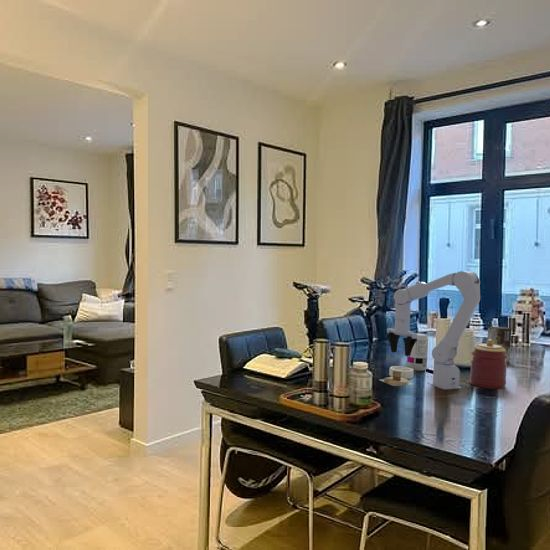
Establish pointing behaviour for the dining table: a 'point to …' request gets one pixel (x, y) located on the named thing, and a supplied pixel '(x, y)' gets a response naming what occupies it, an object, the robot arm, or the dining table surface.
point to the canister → (488, 366)
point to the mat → (397, 385)
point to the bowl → (402, 371)
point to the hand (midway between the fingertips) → (400, 353)
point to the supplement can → (419, 353)
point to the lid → (396, 379)
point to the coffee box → (501, 338)
